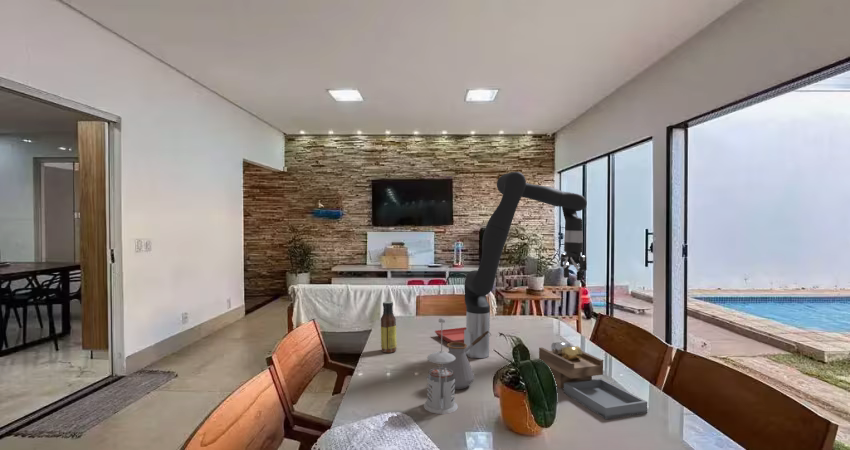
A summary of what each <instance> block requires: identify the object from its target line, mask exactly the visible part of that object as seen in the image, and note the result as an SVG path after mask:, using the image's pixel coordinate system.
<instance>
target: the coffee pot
mask: <svg viewBox="0 0 850 450" xmlns="http://www.w3.org/2000/svg"><path fill="white" fill-rule="evenodd" d="M487 334H488V331H486V332H485V333H483V334H482V335H481V336H480V337H478V338H477V339H476V340H475V341H474V342H473V343H472V344H471V345H470V346H468V347H467V345H466V344H465V343H461V342H451V343H449V342H447V344H446V347H448V353H450V354H452V355H453V356H455V357H456V359H455V360H454V361H453V362H451V363H447V364H442V368H445V367H446V368H447V369H451V370H452V371H453V372H454V374H453V376H454V377H455V382H454V384H455V387H454V388H455V390H462V389H466V388H468V387H469V386H470V385H471V384H472V383H473V381H475V374H474V371H473V369H472V366H471V365H470V361H469V359H468V356H467V355H466V354H465V352H467V351H468V350H469V349H470V348H471V347H472V346H474V345H475V344H476V343H478V342H479V341H480V340H481V339H482V338H483V337H485V335H487ZM487 336H488V335H487ZM489 336H492V333H491V332H489ZM466 347H467V348H466ZM465 348H466V349H465ZM447 382H449V381H448V380H447ZM451 389H452V387H451Z"/></svg>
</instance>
